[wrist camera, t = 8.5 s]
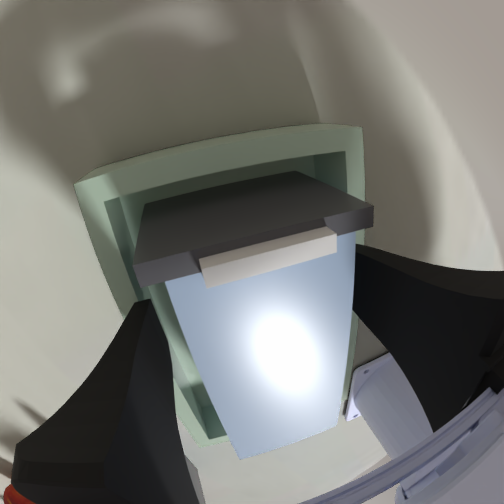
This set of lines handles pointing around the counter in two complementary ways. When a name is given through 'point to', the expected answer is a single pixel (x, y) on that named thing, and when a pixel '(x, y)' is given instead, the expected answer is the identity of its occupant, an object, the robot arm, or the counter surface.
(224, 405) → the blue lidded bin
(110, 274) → the tray
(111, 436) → the robot arm
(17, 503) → the fruit
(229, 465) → the counter surface
